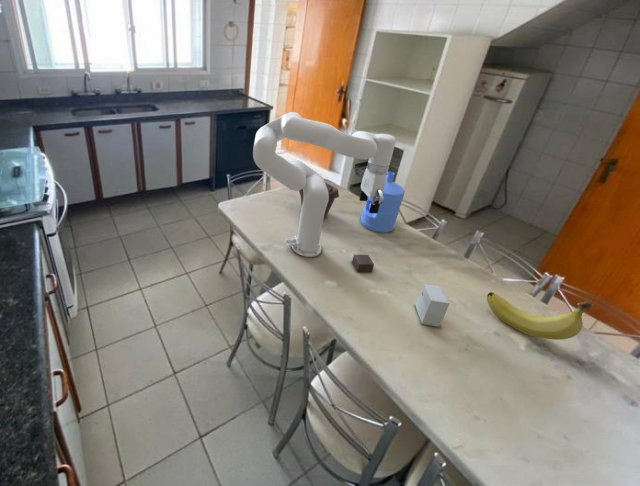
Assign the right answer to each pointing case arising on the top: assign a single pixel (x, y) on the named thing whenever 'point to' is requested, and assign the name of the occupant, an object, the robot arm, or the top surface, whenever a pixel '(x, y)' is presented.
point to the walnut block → (362, 263)
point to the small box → (432, 305)
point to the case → (332, 195)
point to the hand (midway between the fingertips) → (368, 206)
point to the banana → (539, 319)
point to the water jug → (384, 208)
